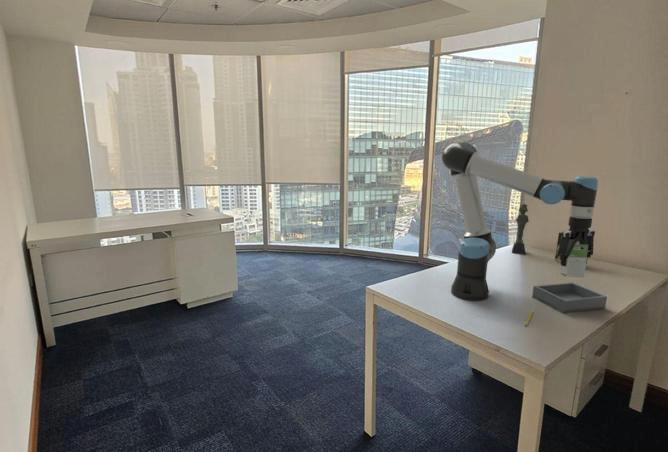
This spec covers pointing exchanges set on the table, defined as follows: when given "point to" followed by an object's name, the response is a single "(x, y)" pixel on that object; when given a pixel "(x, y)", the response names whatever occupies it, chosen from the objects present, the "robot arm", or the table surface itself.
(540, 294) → the box
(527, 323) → the pencil
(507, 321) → the table surface
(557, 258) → the coffee box
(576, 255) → the ink box
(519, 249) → the statue
